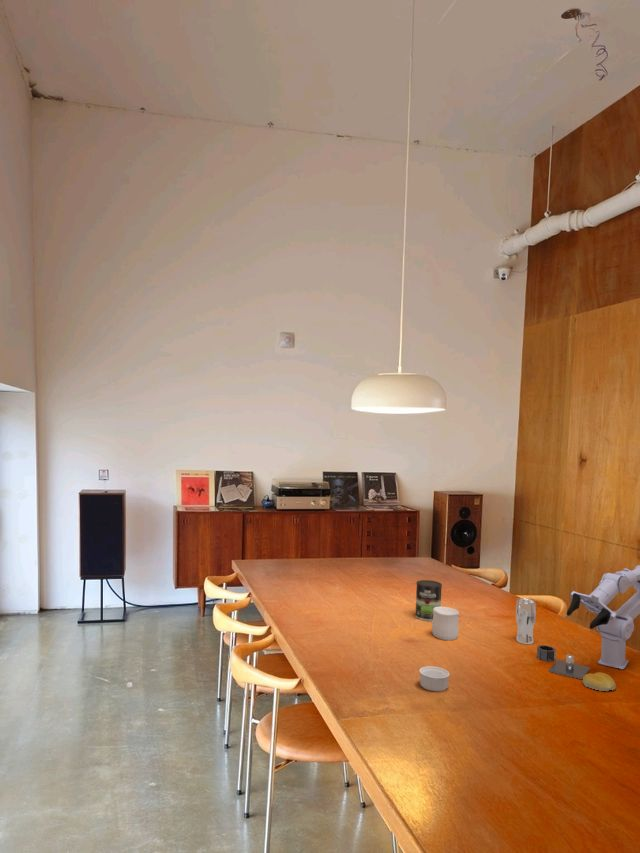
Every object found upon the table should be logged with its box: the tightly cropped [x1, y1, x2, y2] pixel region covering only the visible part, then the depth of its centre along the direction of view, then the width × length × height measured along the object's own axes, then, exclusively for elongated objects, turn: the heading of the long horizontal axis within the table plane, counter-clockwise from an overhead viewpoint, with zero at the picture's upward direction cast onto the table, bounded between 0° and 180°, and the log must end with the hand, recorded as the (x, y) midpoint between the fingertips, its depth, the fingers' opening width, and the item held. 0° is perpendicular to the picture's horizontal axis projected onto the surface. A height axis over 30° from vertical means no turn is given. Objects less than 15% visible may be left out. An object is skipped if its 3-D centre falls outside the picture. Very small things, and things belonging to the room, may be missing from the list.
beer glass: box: [515, 597, 537, 645], centre depth 222 cm, size 7×7×15 cm
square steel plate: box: [548, 654, 591, 680], centre depth 195 cm, size 11×10×5 cm
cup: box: [431, 606, 460, 641], centre depth 224 cm, size 10×10×10 cm
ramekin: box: [418, 665, 450, 692], centre depth 179 cm, size 9×9×4 cm
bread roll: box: [582, 671, 617, 692], centre depth 183 cm, size 8×9×4 cm
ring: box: [536, 644, 557, 663], centre depth 205 cm, size 6×6×4 cm
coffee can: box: [415, 579, 443, 622], centre depth 246 cm, size 10×10×14 cm
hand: (579, 619), depth 190 cm, fingers open, 7 cm apart
